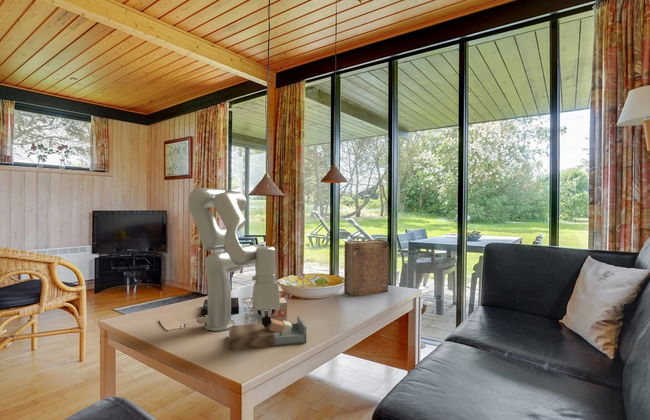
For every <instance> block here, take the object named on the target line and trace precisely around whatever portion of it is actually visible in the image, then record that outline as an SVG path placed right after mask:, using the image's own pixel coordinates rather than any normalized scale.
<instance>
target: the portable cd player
mask: <svg viewBox="0 0 650 420" xmlns="http://www.w3.org/2000/svg"><path fill="white" fill-rule="evenodd" d="M202 305H203V306H202V310H201V312H200V313H201V314H200V316H201V317H202V316H203V317H206V316H205V315H208V298H207V299H204V301H203V304H202ZM238 314H239V315H240V302H239V297H231V315H238Z"/></svg>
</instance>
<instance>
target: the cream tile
mask: <svg viewBox="0 0 650 420" xmlns="http://www.w3.org/2000/svg"><path fill="white" fill-rule="evenodd" d="M283 324H284V329H283V332H282V333H279V334H280V336H289V335H290V332H291V329H292V325H291V322H290V321H288V320H287V321H284V320H283Z"/></svg>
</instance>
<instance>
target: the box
mask: <svg viewBox="0 0 650 420" xmlns="http://www.w3.org/2000/svg"><path fill="white" fill-rule="evenodd" d="M296 316H297V317H296V318H297V320H296V321H297V322H293V323H291V322H290V323H291V325H292V329H291V332H290V335H289V336H280V334H279V333H278V332H275V331H273V332H274V347H276V346H286V345H294V344H295V345H297V344H304V343H306V344H307V326H306V324H305V322H304V321H303V319H302V317H301V315H296Z"/></svg>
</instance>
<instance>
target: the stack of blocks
mask: <svg viewBox="0 0 650 420" xmlns="http://www.w3.org/2000/svg"><path fill="white" fill-rule="evenodd" d="M278 286H279V295H280V310H278V311H275V312H274V313H273V314H272V315H271V317H270V319H275V320H278V321H282V322H283V320H284V321H288V302H287V300H286V299H285V298H284V290H283V289H282V287H281V285H279V284H278Z"/></svg>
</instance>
